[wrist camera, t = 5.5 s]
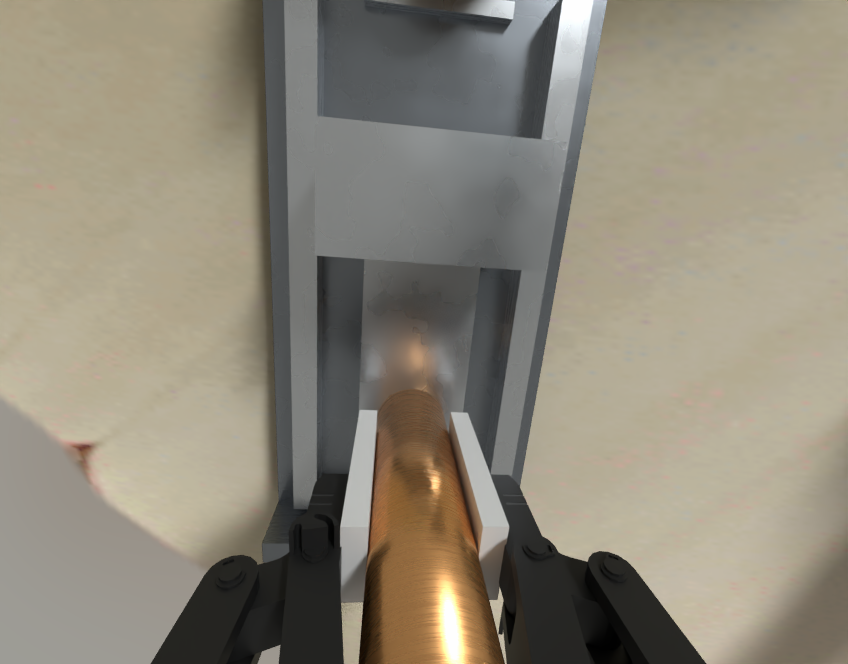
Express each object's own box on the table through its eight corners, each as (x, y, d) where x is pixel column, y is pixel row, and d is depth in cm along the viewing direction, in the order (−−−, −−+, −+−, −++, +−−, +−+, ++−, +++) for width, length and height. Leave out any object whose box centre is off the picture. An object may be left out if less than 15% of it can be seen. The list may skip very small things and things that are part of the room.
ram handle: (340, 146, 17) (157, -72, 4) (511, 163, 18) (862, 28, 4) (336, 431, 21) (238, 807, 8) (475, 435, 22) (601, 787, 9)
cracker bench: (268, -330, 14) (83, -1126, 6) (631, -255, 16) (918, -813, 7) (288, 494, 25) (232, 644, 16) (504, 498, 26) (559, 638, 18)
